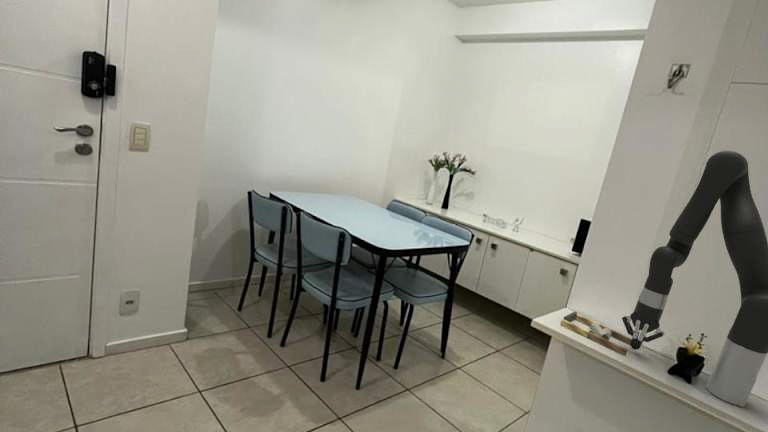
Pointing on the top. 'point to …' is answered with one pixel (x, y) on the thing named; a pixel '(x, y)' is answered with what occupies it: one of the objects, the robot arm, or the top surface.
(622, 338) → the rail
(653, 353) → the top surface
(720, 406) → the top surface
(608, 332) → the pipe fitting
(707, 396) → the top surface
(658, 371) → the top surface
